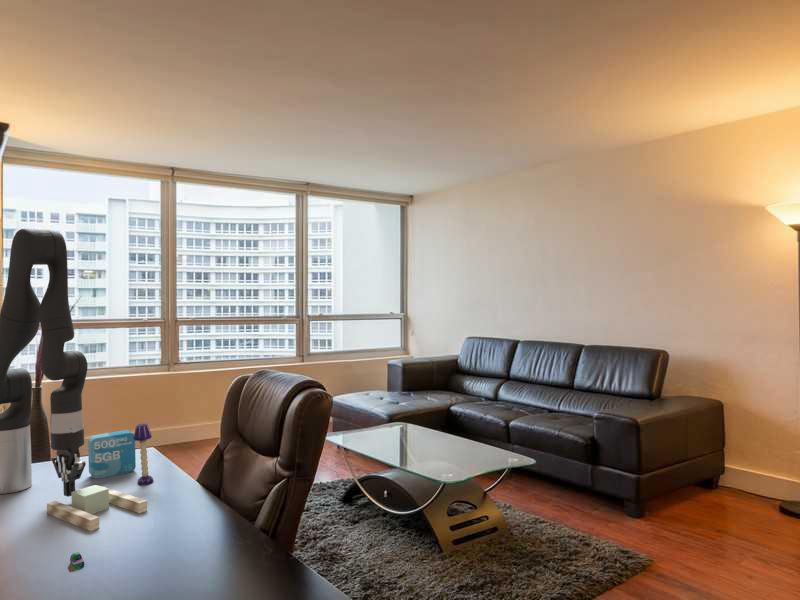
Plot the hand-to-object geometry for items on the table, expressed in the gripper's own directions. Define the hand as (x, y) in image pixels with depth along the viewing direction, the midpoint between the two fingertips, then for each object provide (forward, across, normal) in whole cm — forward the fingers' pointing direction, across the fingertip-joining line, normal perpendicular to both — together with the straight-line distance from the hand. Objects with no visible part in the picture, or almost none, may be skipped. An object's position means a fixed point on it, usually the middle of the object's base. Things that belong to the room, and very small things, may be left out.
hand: (69, 495), depth 148 cm
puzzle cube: (+3, +37, -17) cm, 40 cm away
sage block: (+2, +10, 0) cm, 10 cm away
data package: (+2, -14, +19) cm, 24 cm away
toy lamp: (+2, +2, +19) cm, 19 cm away
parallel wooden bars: (+2, +13, 0) cm, 13 cm away
